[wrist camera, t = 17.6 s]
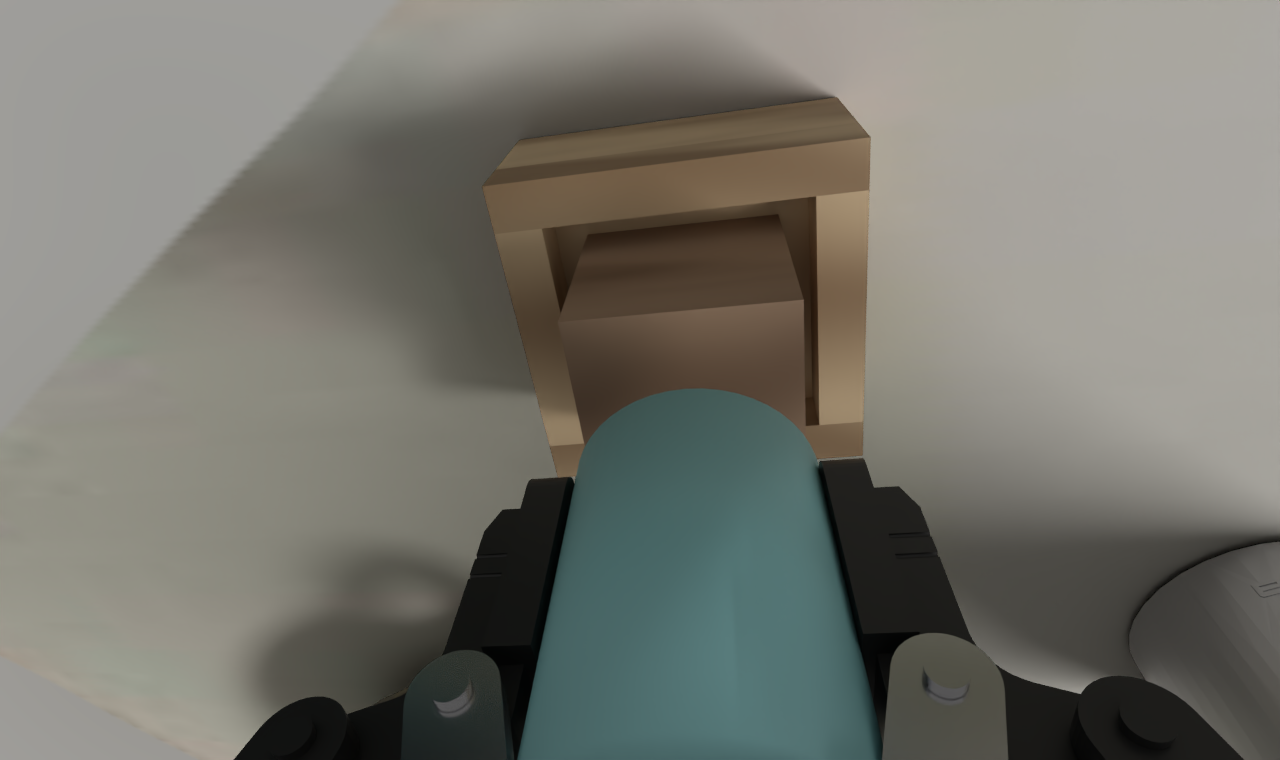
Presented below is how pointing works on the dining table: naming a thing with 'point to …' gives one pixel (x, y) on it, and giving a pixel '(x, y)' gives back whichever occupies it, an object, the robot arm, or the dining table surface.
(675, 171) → the oak base
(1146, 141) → the dining table surface
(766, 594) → the teal cylinder
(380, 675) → the dining table surface
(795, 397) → the walnut block
